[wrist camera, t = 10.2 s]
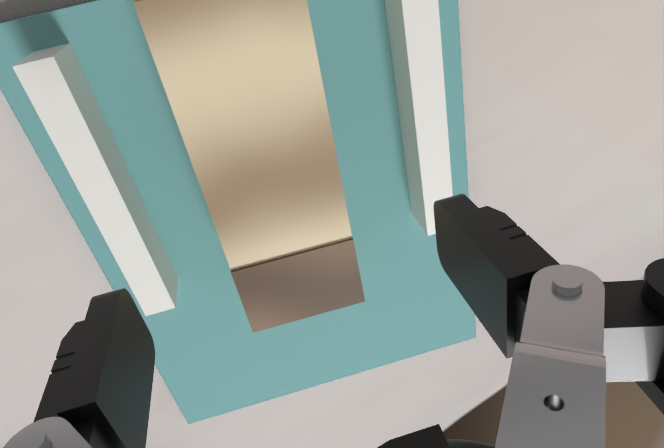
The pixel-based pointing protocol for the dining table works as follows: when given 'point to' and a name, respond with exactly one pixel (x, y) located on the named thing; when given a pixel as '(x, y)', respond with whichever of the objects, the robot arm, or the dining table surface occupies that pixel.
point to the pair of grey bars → (120, 190)
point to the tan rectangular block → (260, 149)
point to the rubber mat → (198, 228)
